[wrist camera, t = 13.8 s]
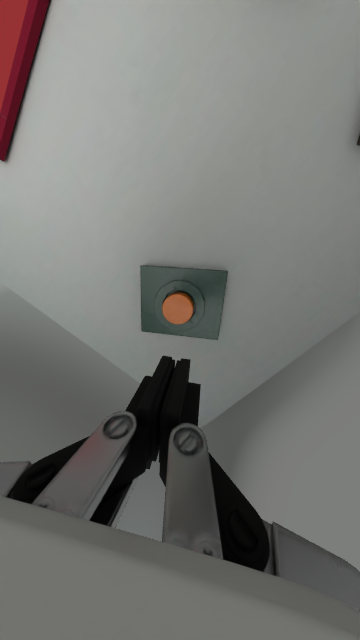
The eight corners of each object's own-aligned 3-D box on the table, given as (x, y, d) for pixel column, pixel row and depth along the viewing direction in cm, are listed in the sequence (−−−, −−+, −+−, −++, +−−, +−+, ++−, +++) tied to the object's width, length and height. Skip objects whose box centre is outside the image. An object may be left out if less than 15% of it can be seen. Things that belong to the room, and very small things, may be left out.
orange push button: (195, 293, 23) (194, 295, 21) (192, 321, 24) (191, 326, 22) (165, 290, 23) (162, 292, 21) (164, 318, 24) (161, 322, 23)
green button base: (226, 270, 25) (229, 272, 21) (217, 334, 28) (218, 345, 24) (145, 265, 26) (135, 265, 22) (145, 326, 29) (137, 336, 25)
